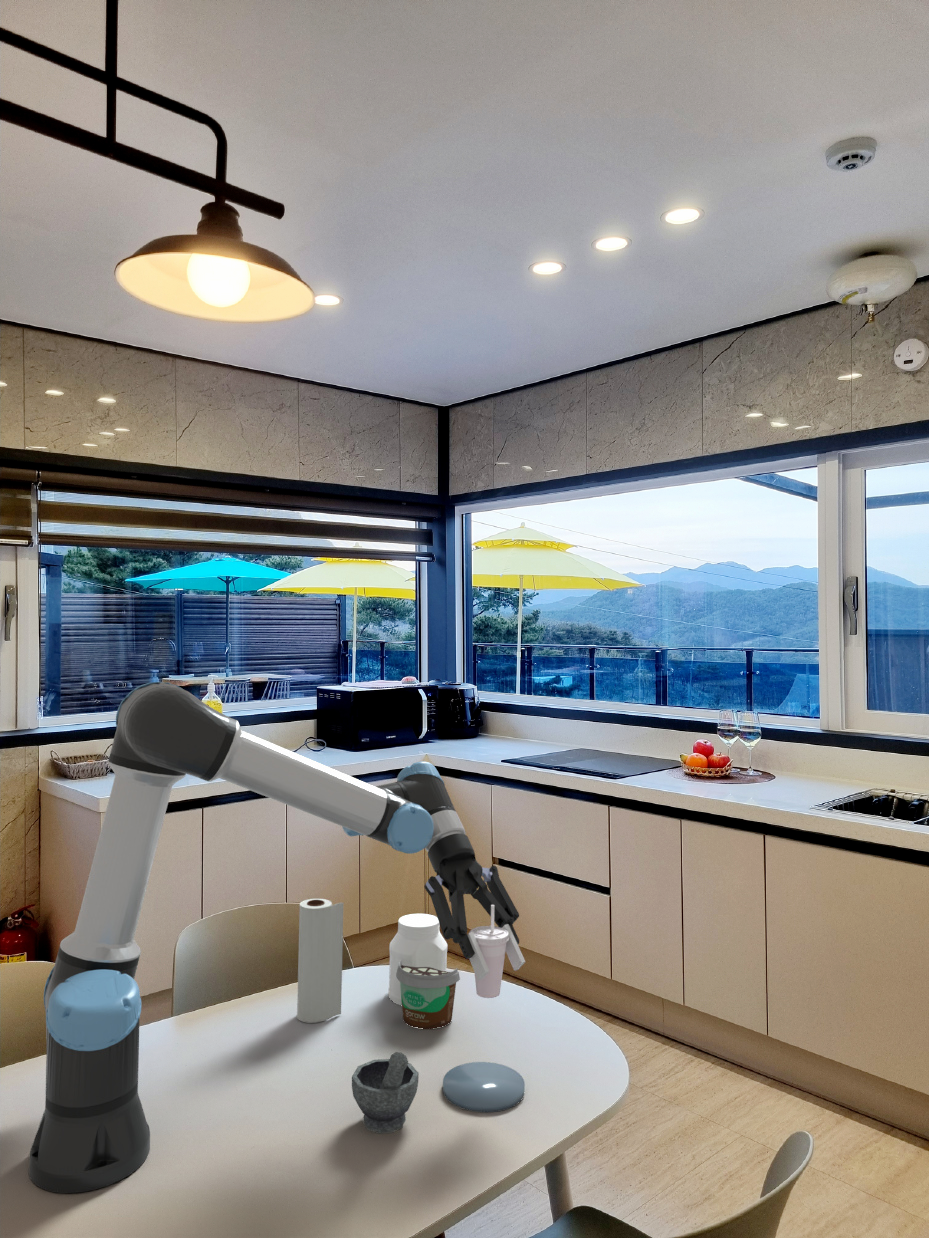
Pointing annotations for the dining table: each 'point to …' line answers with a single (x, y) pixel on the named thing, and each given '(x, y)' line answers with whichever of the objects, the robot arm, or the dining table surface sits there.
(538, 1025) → the dining table surface
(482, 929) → the smoothie
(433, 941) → the jar
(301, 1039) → the dining table surface
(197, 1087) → the dining table surface
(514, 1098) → the dish
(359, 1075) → the mortar and pestle
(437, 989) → the food container
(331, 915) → the paper towel roll
